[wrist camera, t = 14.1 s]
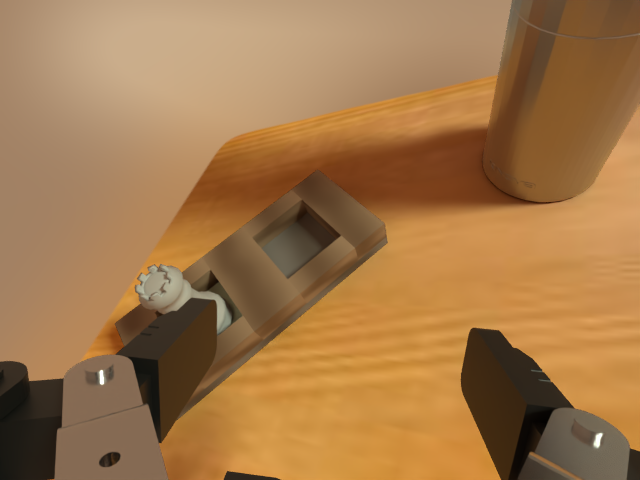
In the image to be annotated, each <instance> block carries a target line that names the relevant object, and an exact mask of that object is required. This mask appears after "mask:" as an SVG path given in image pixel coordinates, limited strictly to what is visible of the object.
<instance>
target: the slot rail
mask: <svg viewBox="0 0 640 480" xmlns="http://www.w3.org/2000/svg"><path fill="white" fill-rule="evenodd" d="M387 243H388V242H387V236H386V229H385V223H384V222H382V221H381V220H380V219H379V218H377V217H376V216H375V215H374V214H372V213H371V212H370V211H369V210H367V209H366V208H365V207H364V206H363V205H361V204H360V203H359V202H358V201H356V200H355V199H354V198H353V197H351V196H350V195H349V194H348V193H346V192H345V191H344V190H343V189H342V188H340V187H339V186H338V185H337V184H335V183H334V182H333V181H332V180H330V179H329V178H328V177H327V176H325V175H324V174H323V173H322V172H321V171H319V170H316V171H315V172H314V173H313V174H311V175H310V176H309V177H307V178H306V179H305V180H303V181H302V182H301V183H299V184H298V185H297V186H295V187H294V188H293V189H291V190H290V191H289V192H287V193H286V194H285V195H283V196H282V197H281V198H280V199H278V200H277V201H276V202H274V203H273V204H272V205H270V206H269V207H268V208H266V209H265V210H264V211H262V212H261V213H260V214H258V215H257V216H256V217H254V218H253V219H252V220H251V221H249V222H248V223H247V224H245V225H244V226H243V227H241V228H240V229H239V230H237V231H236V232H235V233H233V234H232V235H231V236H229V237H228V238H227V239H225V240H224V241H223V242H221V243H220V244H219V245H218V246H216V247H215V248H214V249H212V250H211V251H210V252H208V253H207V254H206V255H204V256H203V257H202V258H200V259H199V260H198V261H196V262H195V263H194V264H192V265H191V266H190V267H189V268H187V269H186V270H185V271H183V272H182V276H183V279H185V280H187V281H188V282H189V284H190V285H191V288H192V289H194V290H196V291H198V292H201V291H203V292H207V291H209V292H212V293H215V294H218V295H220V296H221V297H222V298H224V299H225V300H226V301H227V302H228V303H229V304H230V306H231V310H232V320H231V325H230V326H229V327H228V328H227V329H226V330H225V331H223V332H222V333H221V334H220V335H218V336H217V349H216V354H215V358H214V361H213V363H212V365H211V367H210V368H209V370H208V371H207V373H206V374H205V376H204V377H203V379H202V381H201V382H200V384H199V385H198V387H197V388H196V390H195V391H194V393H193V395H192V396H191V398H190V399H189V401H188V402H187V404H186V406H185V407H184V409H183V410H182V412H181V413H180V415H179V416H178V418H177V420H178V419H179V418H180V417H181V416H182V415H184V414H185V413H186V412H187V411H188V410H190V409H191V408H192V407H193V406H194V405H195V404H197V403H198V402H199V401H200V400H201V399H203V398H204V397H205V396H206V395H207V394H209V393H210V392H211V391H212V390H213V389H214V388H216V387H217V386H218V385H219V384H220V383H222V382H223V381H224V380H225V379H226V378H228V377H229V376H230V375H231V374H232V373H233V372H235V371H236V370H237V369H238V368H239V367H241V366H242V365H243V364H244V363H245V362H247V361H248V360H249V359H250V358H251V357H252V356H254V355H255V354H256V353H257V352H258V351H260V350H261V349H262V348H263V347H264V346H266V345H267V344H268V343H269V342H270V341H271V340H273V339H274V338H275V337H276V336H277V335H279V334H280V333H281V332H282V331H283V330H285V329H286V328H287V327H288V326H289V325H290V324H292V323H293V322H294V321H295V320H296V319H298V318H299V317H300V316H301V315H302V314H303V313H305V312H306V311H307V310H308V309H309V308H311V307H312V306H313V305H314V304H315V303H317V302H318V301H319V300H320V299H321V298H322V297H324V296H325V295H326V294H327V293H328V292H330V291H331V290H332V289H333V288H334V287H336V286H337V285H338V284H339V283H340V282H341V281H343V280H344V279H345V278H346V277H347V276H349V275H350V274H351V273H352V272H353V271H355V270H356V269H357V268H358V267H359V266H360V265H362V264H363V263H364V262H365V261H366V260H368V259H369V258H370V257H371V256H372V255H374V254H375V253H376V252H377V251H378V250H379V249H381V248H382V247H383V246H384V245H385V244H387ZM162 315H164V314H162V313H159V312H158V310H157V309H156V310H149V309H147V308H145V307H143V305H142V304H140V305H138V306H137V307H136V308H134V309H133V310H132V311H130V312H129V313H128V314H127V315H125V316H124V317H123V318H121V319H120V320H119V321H117V322H116V323H115V325H116V328H117V330H118V332H119V335H120V337H121V339H122V342H123V344H124V346H126V345H127V344H128V343H129V342H130V341H131V340H132V339H134V338H135V337H136V336H137V335H140V332H142V331H143V330H144V329H145V328H146V327H147V328H148V325H149V324H151V323H152V322H153V321H154V320H155V319H156V318H157V317H159V316H162Z"/></svg>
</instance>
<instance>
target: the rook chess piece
mask: <svg viewBox="0 0 640 480" xmlns="http://www.w3.org/2000/svg"><path fill="white" fill-rule="evenodd" d="M148 271H150V272H149V273H148V274H147V275H146V276H145V275H144V274H143V273H141V274H140V275H139V277H138V278H137V279H138V280H139V281H141V284H140V285H135V292H136V293H138V294H139V301H140V303H141V304H142V305H143V307H145V308H147V309H149V310H156V309H157V310H158V312H159V313H162V314H166V313H168V312H170V311H177V310H178V309H179V308H180V307H181V306H182V305H184V304H185V303H186V302H187V301H188V300H189V299H190V298H202V299H211V300H215V301H216V303H217V336H218V335H220V334H221V333H222V332H223V331H225V330H226V329H227V328H228V327H229V326H230V325H231V320H232V310H231V306H230V304H229V303H228V302H227V301H226V300H225V299H224V298H222V297H221V296H220V295H218V294H215V293H212V292H209V291H207V292H203V291H201V292H198V291H196V290H194V289H192V288H191V285H190V284H189V282H188V281H187V280H185V279H183V276H182V273H181V272H180V270H179V269H178V268H176V267H173V266H165V265H162V264H160V266H159V268H158V267H157V266H155V265H152V266H150V267H148Z"/></svg>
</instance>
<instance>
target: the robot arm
mask: <svg viewBox="0 0 640 480" xmlns="http://www.w3.org/2000/svg"><path fill="white" fill-rule="evenodd" d="M639 104H640V0H512V4H511V9H510V15H509V20H508V25H507V31H506V36H505V41H504V46H503V52H502V57H501V62H500V68H499V73H498V78H497V84H496V89H495V94H494V99H493V105H492V110H491V115H490V121H489V125H488V131H487V136H486V141H485V147H484V152H483V160H482V163H483V168H484V171H485V173H486V175H487V177H488V178H489V180H490V181H491V182H492V183H493V184H494V185H495V186H496V187H498V188H499V189H501V190H502V191H503V192H505V193H507V194H510V195H512V196H514V197H517V198H520V199H524V200H528V201H535V202H554V201H560V200H565V199H568V198H571V197H574V196H577V195H578V194H580V193H582V192H584V191H585V190H586V189H588V188H589V187H590V186H591V185H592V184H593V182H594V181H595V179H596V177H597V176H598V174H599V172H600V171H601V169H602V167H603V166H604V164H605V162H606V160H607V159H608V157H609V155H610V154H611V152H612V150H613V149H614V147H615V146H616V144H617V142H618V140H619V139H620V137H621V135H622V134H623V132H624V130H625V128H626V127H627V125H628V123H629V122H630V120H631V118H632V116H633V115H634V113H635V111H636V109H637V108H638V106H639ZM216 349H217V303H216V301H215V300H211V299H202V298H190V299H189V300H188V301H187V302H186V303H185V304H184V305H182V306H181V307H180V308H179V309H178V310H177V311H170V312H168V313H166V314H164V315H162V316H159V317H157V318H156V319H155V320H154V321H153V322H152V323H151V324H149V325H148V328H147V327H146V328H145V329H144V330H143V331H142V332H140V335H137V336H136V337H135V338H134V339H132V340H131V341H130V342H129V343H128V344H127V345H126V346H125V347H123V348H122V349H121V350H120V351H119V352H118V353H117V354H115V355H102V356H97V357H93V358H90V359H87V360H84V361H82V362H80V363H78V364H76V365H75V366H73V367H72V368H71V369H69V370H68V372H67V373H66V374H65V376H64V378H63V379H53V380H41V381H29V378H28V371H27V367H26V366H25V365H24V364H22V363H19V362H13V361H4V362H0V480H48V479H55V480H168V476H167V472H166V469H165V465H164V461H163V457H162V454H161V450H160V446H159V443H162V441H163V440H164V438H165V437H166V435H167V434H168V432H169V430H170V429H171V427H172V426H173V424H174V423H175V421H176V420H177V418H178V416H179V415H180V413H181V412H182V410H183V409H184V407H185V406H186V404H187V402H188V401H189V399H190V398H191V396H192V395H193V393H194V391H195V390H196V388H197V387H198V385H199V384H200V382H201V381H202V379H203V377H204V376H205V374H206V373H207V371H208V370H209V368H210V367H211V365H212V363H213V361H214V358H215V354H216ZM461 387H462V392H463V395H464V397H465V400H466V402H467V404H468V406H469V409H470V411H471V413H472V415H473V418H474V420H475V422H476V424H477V427H478V429H479V431H480V433H481V436H482V438H483V440H484V442H485V444H486V447H487V449H488V451H489V453H490V456H491V458H492V460H493V462H494V465H495V467H496V469H497V471H498V474H499V476H500V478H501V480H640V452H639V451H636V450H633V449H630V445H629V443H628V441H627V439H626V438H625V436H624V435H623V434H622V433H621V432H620V431H619V430H618V429H617V428H615V427H614V426H613V425H611V424H610V423H608V422H607V421H605V420H603V419H601V418H600V417H597V416H595V415H593V414H591V413H588V412H585V411H582V410H578V409H575V408H574V407H573V406H572V405H571V404H570V402H569V401H568V400H567V399H566V398H565V397H564V395H563V394H562V393H561V392H560V391H559V389H558V388H557V387H556V386H555V385H554V384H553V382H550V379H549V378H548V376H547V375H546V374H545V373H544V372H542V369H541V368H540V367H539V366H538V365H537V363H536V362H535V361H534V360H533V359H532V358H531V357H529V356H528V355H526V354H525V353H523V352H522V351H520V350H519V349H517V348H513V347H512V346H511V344H510V343H509V342H508V341H507V339H506V338H505V337H504V336H503V334H502V333H501V332H500V331H499V330H490V329H481V328H472V329H471V330H470V333H469V336H468V341H467V347H466V352H465V357H464V362H463V367H462V373H461ZM224 480H280V479H278V478H273V477H266V476H258V475H251V474H244V473H236V472H229V471H227V473H226V475H225V478H224Z"/></svg>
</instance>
